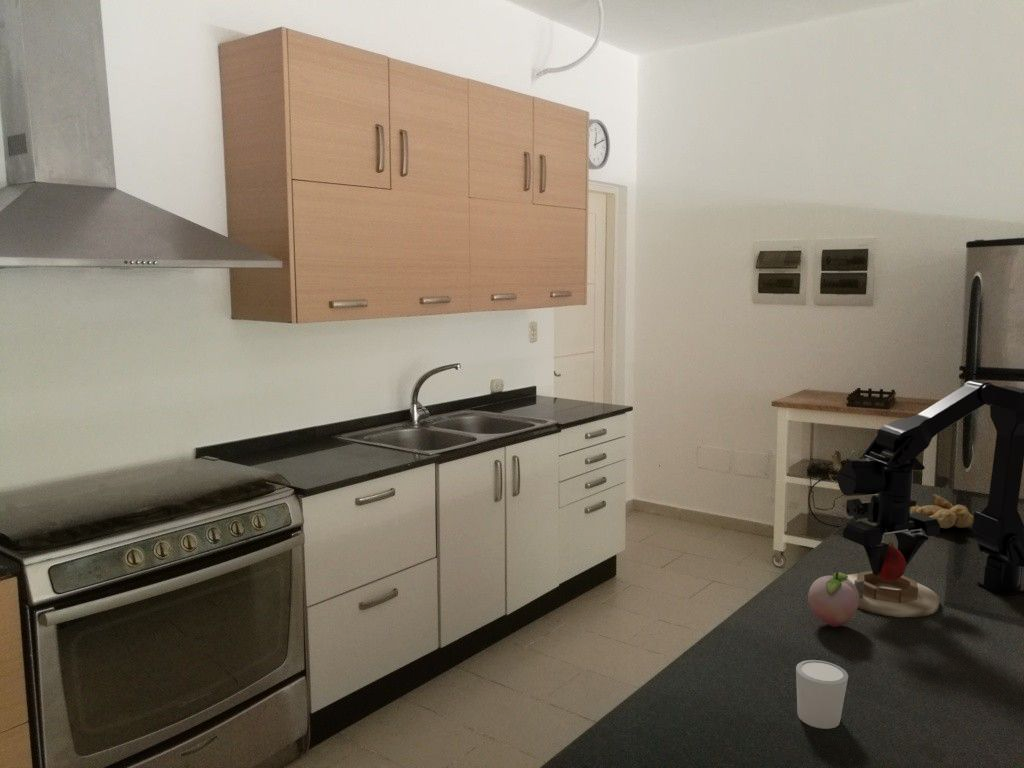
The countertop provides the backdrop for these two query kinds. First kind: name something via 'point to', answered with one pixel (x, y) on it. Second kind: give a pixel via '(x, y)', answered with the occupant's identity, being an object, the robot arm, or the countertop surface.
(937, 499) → the ginger root
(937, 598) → the flange plate
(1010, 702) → the countertop surface
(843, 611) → the decorative fruit
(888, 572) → the onion
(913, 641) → the countertop surface
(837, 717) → the white cup
